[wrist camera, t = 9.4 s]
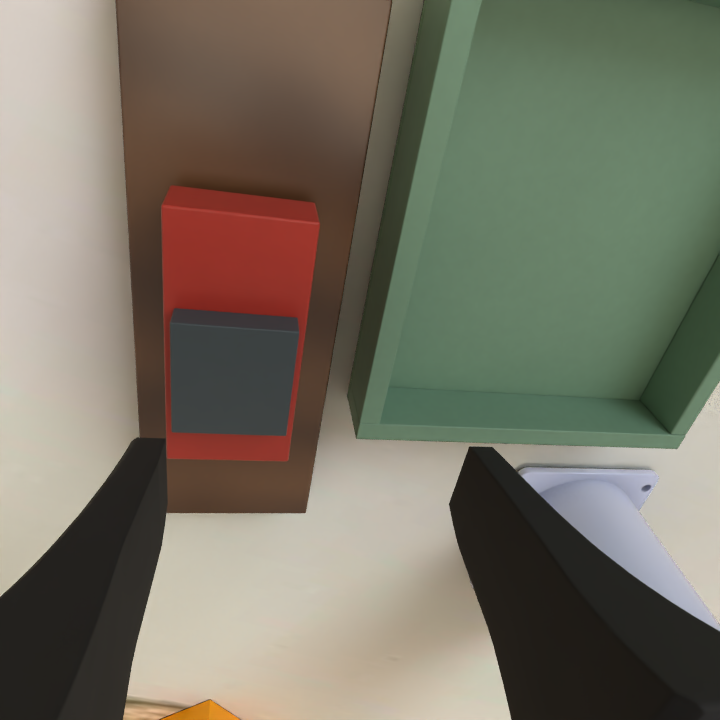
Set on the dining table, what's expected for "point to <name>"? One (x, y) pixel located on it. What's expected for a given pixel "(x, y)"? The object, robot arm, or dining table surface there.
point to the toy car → (234, 320)
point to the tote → (549, 229)
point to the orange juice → (203, 713)
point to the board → (246, 182)
